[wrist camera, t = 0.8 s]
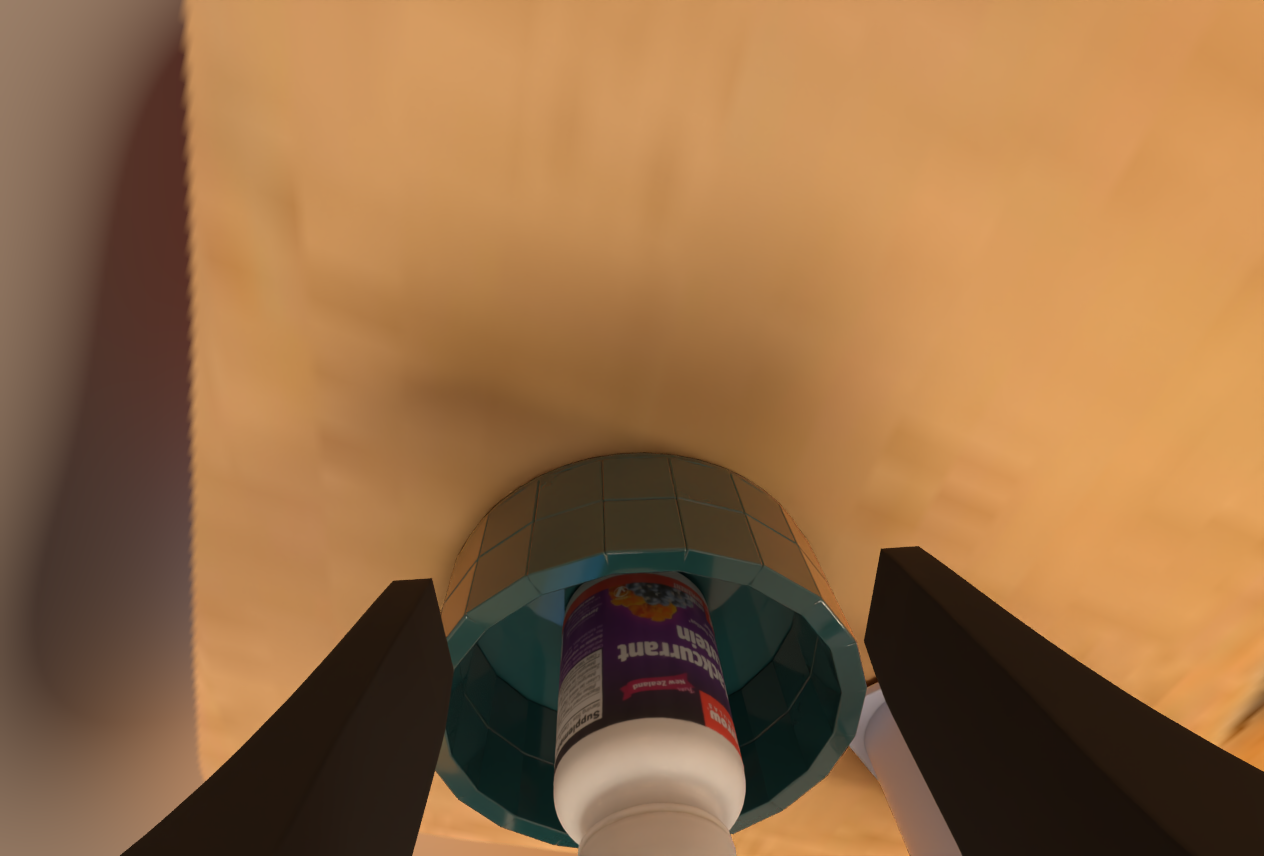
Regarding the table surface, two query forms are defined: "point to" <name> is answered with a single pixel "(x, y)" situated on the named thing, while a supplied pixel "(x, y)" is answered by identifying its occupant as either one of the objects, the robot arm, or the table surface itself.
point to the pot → (625, 544)
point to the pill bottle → (644, 722)
